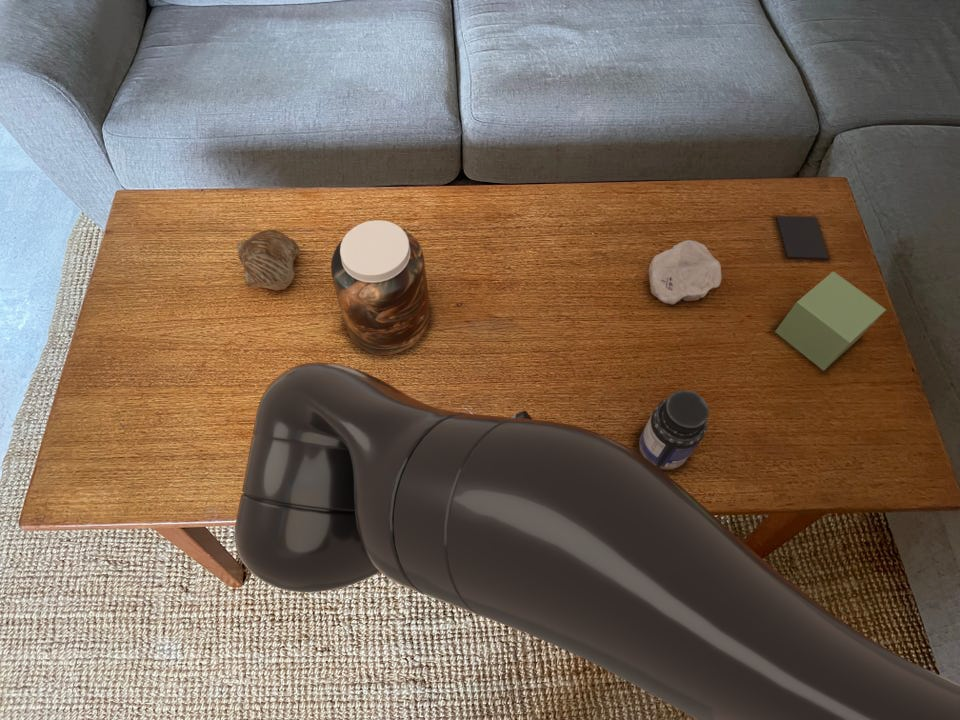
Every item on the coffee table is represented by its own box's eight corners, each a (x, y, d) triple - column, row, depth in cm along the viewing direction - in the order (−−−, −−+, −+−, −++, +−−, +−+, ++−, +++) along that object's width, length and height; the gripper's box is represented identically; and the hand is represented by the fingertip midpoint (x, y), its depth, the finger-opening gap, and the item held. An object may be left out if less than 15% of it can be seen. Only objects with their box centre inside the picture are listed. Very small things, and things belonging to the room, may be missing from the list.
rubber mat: (827, 259, 96) (828, 257, 95) (786, 258, 96) (788, 256, 95) (814, 219, 100) (816, 217, 100) (776, 217, 100) (777, 216, 100)
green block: (858, 339, 89) (886, 309, 83) (823, 371, 86) (850, 342, 80) (809, 302, 92) (833, 271, 86) (774, 331, 89) (796, 301, 83)
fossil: (735, 283, 89) (687, 287, 84) (703, 311, 94) (656, 316, 89) (702, 235, 93) (654, 236, 88) (674, 264, 98) (627, 267, 92)
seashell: (240, 296, 92) (294, 300, 91) (219, 266, 85) (277, 270, 84) (258, 244, 96) (310, 247, 95) (240, 212, 90) (295, 215, 89)
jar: (334, 300, 91) (312, 226, 78) (413, 274, 93) (404, 198, 80) (360, 367, 85) (341, 299, 72) (443, 338, 88) (439, 268, 75)
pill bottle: (691, 435, 81) (720, 393, 71) (682, 478, 78) (712, 441, 68) (642, 420, 82) (665, 377, 72) (632, 462, 79) (654, 424, 69)
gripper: (562, 563, 41) (636, 547, 56) (503, 376, 46) (585, 407, 61) (466, 594, 44) (560, 571, 59) (419, 415, 49) (517, 436, 64)
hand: (573, 488), depth 60 cm, fingers closed
